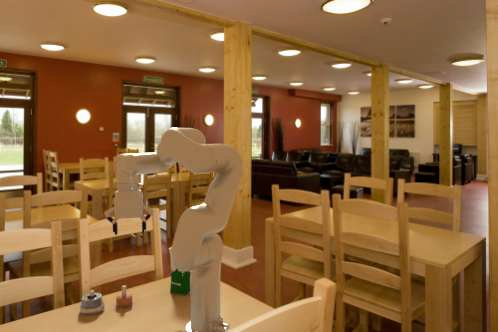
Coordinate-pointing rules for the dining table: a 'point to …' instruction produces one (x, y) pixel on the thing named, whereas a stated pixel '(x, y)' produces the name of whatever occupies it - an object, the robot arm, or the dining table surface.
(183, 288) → the milk carton
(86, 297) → the grey short cylinder
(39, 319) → the dining table surface
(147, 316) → the dining table surface
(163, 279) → the dining table surface
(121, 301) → the stand
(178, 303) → the dining table surface
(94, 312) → the hub
